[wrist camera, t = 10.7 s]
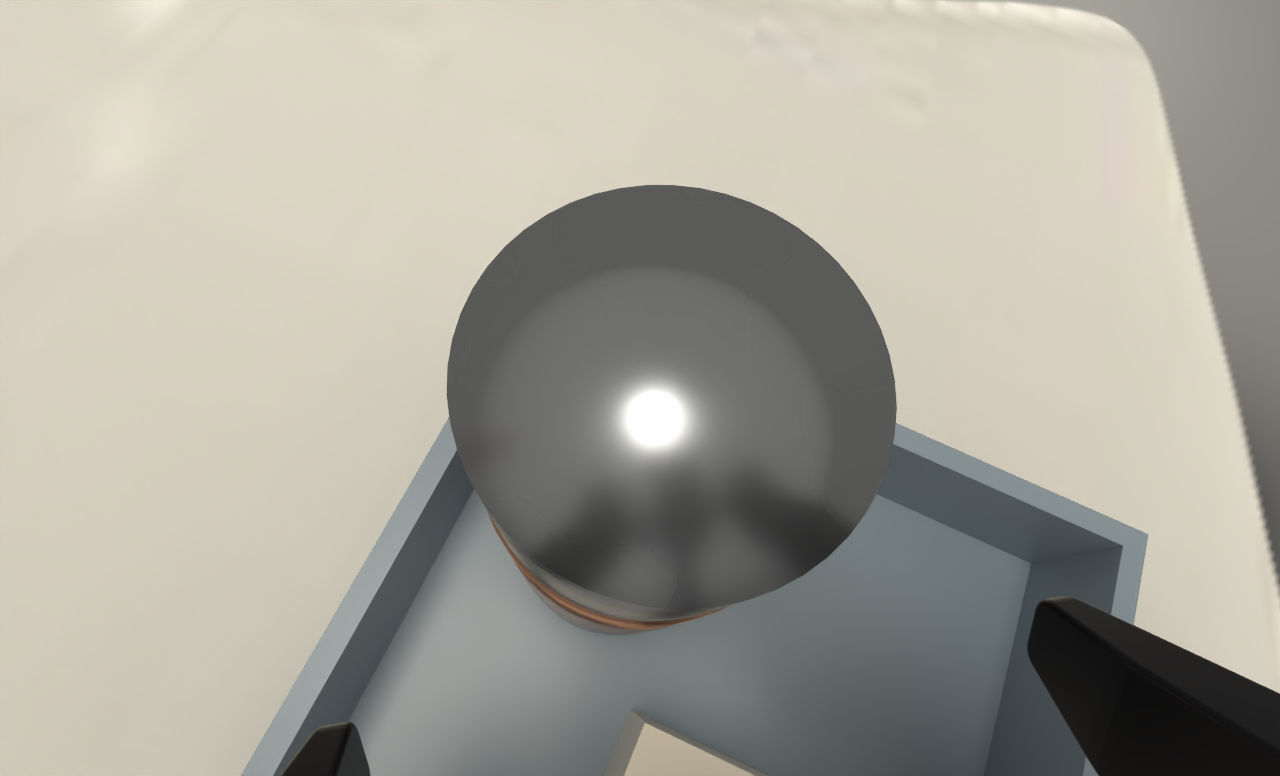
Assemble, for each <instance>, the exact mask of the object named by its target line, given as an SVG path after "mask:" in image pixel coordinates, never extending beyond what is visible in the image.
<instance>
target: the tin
mask: <svg viewBox="0 0 1280 776" xmlns="http://www.w3.org/2000/svg"><path fill="white" fill-rule="evenodd" d="M447 400H448V409H449V418H450V425H451V429H452V432H453V436H454V440H455V444H456V448H457V451H458V454H459V457H460V459H461V461H462V464H463V466H464V468H465V471H466V473H467V476H468V478H469V480H470V482H471V484H472V486H473V487H474V489H475V491H476V492H477V494H478V496H479V497H480V499H481V501H482V503H483V504H484V506H485V508H486V510H487V512H488V515H489V517H490V520H491V522H492V524H493V527H494V529H495V531H496V532H497V534H498V536H499V537H500V539H501V541H502V542H503V544H504V546H505V547H506V549H507V551H508V552H509V554H510V556H511V557H512V559H513V560H514V562H515V564H516V565H517V567H518V568H519V570H520V572H521V573H522V575H523V577H524V578H525V580H526V581H527V583H528V584H529V585H530V587H531V588H532V589H533V590H534V592H535V593H536V594H537V595H538V596H539V598H540V599H541V600H542V601H543V603H544V604H545V605H546V606H548V607H549V608H550V609H551V610H552V611H553V612H554V613H555V614H557V615H558V616H559V617H561V618H562V619H564V620H565V621H567V622H569V623H571V624H573V625H574V626H576V627H579V628H582V629H584V630H587V631H590V632H595V633H600V634H607V635H626V634H633V633H643V632H648V631H653V630H657V629H661V628H665V627H668V626H672V625H676V624H679V623H683V622H687V621H691V620H694V619H698V618H701V617H704V616H706V615H709V614H712V613H715V612H717V611H720V610H722V609H724V608H726V607H728V606H731V605H734V604H737V603H741V602H744V601H747V600H750V599H753V598H755V597H758V596H761V595H764V594H767V593H769V592H772V591H775V590H777V589H779V588H781V587H783V586H785V585H786V584H788V583H790V582H792V581H794V580H796V579H798V578H800V577H801V576H803V575H805V574H806V573H807V572H809V571H810V570H811V569H813V568H814V567H815V566H817V565H818V564H820V563H821V562H822V561H824V560H825V559H826V558H828V557H829V556H830V555H831V554H832V553H833V552H834V551H835V550H836V549H837V548H838V547H839V546H840V545H841V544H842V543H843V542H844V541H845V540H846V539H847V538H848V537H849V535H850V534H851V533H852V531H853V530H854V529H855V527H856V526H857V525H858V523H859V522H860V521H861V519H862V518H863V517H864V515H865V514H866V512H867V511H868V509H869V507H870V505H871V503H872V501H873V499H874V498H875V496H876V494H877V492H878V490H879V488H880V486H881V483H882V480H883V477H884V475H885V472H886V469H887V466H888V464H889V460H890V455H891V451H892V446H893V441H894V436H895V424H896V409H897V406H896V392H895V380H894V375H893V370H892V365H891V360H890V355H889V352H888V349H887V346H886V343H885V340H884V337H883V334H882V331H881V329H880V327H879V324H878V322H877V320H876V318H875V316H874V314H873V312H872V310H871V308H870V306H869V304H868V303H867V301H866V300H865V298H864V296H863V295H862V293H861V292H860V290H859V289H858V287H857V286H856V284H855V283H854V281H853V280H852V279H851V278H850V276H849V275H848V274H847V273H846V272H845V270H844V269H843V268H842V267H841V266H840V264H839V263H838V262H837V261H836V260H835V259H834V258H833V257H832V256H831V255H830V254H829V253H828V252H827V251H826V250H825V249H823V248H822V247H821V246H820V245H819V244H818V243H817V242H816V241H814V240H813V239H812V238H810V237H809V236H808V235H807V234H805V233H804V232H803V231H801V230H800V229H799V228H797V227H796V226H794V225H793V224H791V223H789V222H788V221H786V220H784V219H783V218H781V217H779V216H778V215H776V214H774V213H772V212H770V211H768V210H766V209H764V208H761V207H759V206H757V205H755V204H753V203H751V202H748V201H745V200H742V199H739V198H736V197H733V196H730V195H727V194H724V193H719V192H715V191H710V190H706V189H701V188H694V187H685V186H676V185H644V186H636V187H627V188H619V189H615V190H611V191H606V192H602V193H598V194H594V195H591V196H588V197H586V198H583V199H580V200H577V201H574V202H572V203H569V204H567V205H565V206H563V207H561V208H559V209H557V210H555V211H553V212H551V213H549V214H547V215H546V216H544V217H543V218H541V219H540V220H538V221H537V222H535V223H534V224H532V225H531V226H529V227H528V228H526V229H525V230H524V231H522V232H521V233H520V234H519V235H518V236H517V237H516V238H514V239H513V240H512V241H511V242H510V243H509V244H507V245H506V246H505V247H504V248H503V250H502V251H501V252H500V253H499V254H498V255H497V256H496V257H495V259H494V260H493V261H492V262H491V263H490V264H489V265H488V266H487V268H486V269H485V271H484V272H483V274H482V275H481V277H480V278H479V280H478V281H477V283H476V284H475V286H474V287H473V289H472V291H471V293H470V295H469V297H468V299H467V301H466V303H465V305H464V307H463V310H462V312H461V314H460V317H459V320H458V323H457V326H456V329H455V333H454V336H453V339H452V344H451V350H450V356H449V362H448V373H447Z"/></svg>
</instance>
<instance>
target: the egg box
mask: <svg viewBox="0 0 1280 776" xmlns="http://www.w3.org/2000/svg"><path fill="white" fill-rule="evenodd" d="M604 776H768V775H766V774H764V773H762V772H760V771H758V770H756V769H754V768H752V767H750V766H748V765H746V764H743V763H741V762H739V761H737V760H735V759H733V758H731V757H729V756H727V755H725V754H723V753H721V752H718V751H716V750H714V749H712V748H710V747H708V746H706V745H704V744H702V743H700V742H698V741H696V740H693V739H691V738H689V737H687V736H685V735H683V734H681V733H679V732H677V731H675V730H673V729H671V728H668V727H666V726H664V725H662V724H660V723H658V722H656V721H654V720H652V719H650V718H648V717H646V716H643V715H641V714H639V713H637V712H635V711H633V710H631V711H630V713H629V715H628V718H627V720H626V723H625V725H624V728H623V730H622V733H621V735H620V738H619V740H618V743H617V745H616V748H615V750H614V752H613V755H612V757H611V760H610V762H609V765H608V767H607V770H606V772H605V775H604Z"/></svg>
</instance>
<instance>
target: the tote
mask: <svg viewBox="0 0 1280 776" xmlns="http://www.w3.org/2000/svg"><path fill="white" fill-rule="evenodd" d="M1147 539H1148V534H1146V533H1144V532H1142V531H1139V530H1137V529H1135V528H1133V527H1130V526H1128V525H1126V524H1124V523H1121V522H1119V521H1117V520H1115V519H1112V518H1110V517H1108V516H1105V515H1103V514H1101V513H1099V512H1096V511H1094V510H1092V509H1090V508H1087V507H1085V506H1083V505H1081V504H1078V503H1076V502H1074V501H1071V500H1069V499H1067V498H1065V497H1062V496H1060V495H1058V494H1056V493H1053V492H1051V491H1049V490H1047V489H1044V488H1042V487H1040V486H1037V485H1035V484H1033V483H1031V482H1028V481H1026V480H1024V479H1022V478H1019V477H1017V476H1015V475H1013V474H1010V473H1008V472H1006V471H1003V470H1001V469H999V468H997V467H994V466H992V465H990V464H988V463H985V462H983V461H981V460H979V459H976V458H974V457H972V456H969V455H967V454H965V453H963V452H960V451H958V450H956V449H954V448H951V447H949V446H947V445H945V444H942V443H940V442H938V441H935V440H933V439H931V438H929V437H926V436H924V435H922V434H920V433H917V432H915V431H913V430H911V429H908V428H906V427H904V426H901V425H899V424H897V423H896V424H895V436H894V441H893V446H892V451H891V455H890V460H889V464H888V466H887V469H886V472H885V475H884V477H883V480H882V483H881V486H880V488H879V490H878V492H877V494H876V496H875V498H874V499H873V501H872V503H871V505H870V507H869V509H868V511H867V512H866V514H865V515H864V517H863V518H862V519H861V521H860V522H859V523H858V525H857V526H856V527H855V529H854V530H853V531H852V533H851V534H850V535H849V537H848V538H847V539H846V540H845V541H844V542H843V543H842V544H841V545H840V546H839V547H838V548H837V549H836V550H835V551H834V552H833V553H832V554H831V555H830V556H829V557H828V558H826V559H825V560H824V561H822V562H821V563H820V564H818V565H817V566H815V567H814V568H813V569H811V570H810V571H809V572H807V573H806V574H805V575H803V576H801V577H800V578H798V579H796V580H794V581H792V582H790V583H788V584H786V585H785V586H783V587H781V588H779V589H777V590H775V591H772V592H769V593H767V594H764V595H761V596H758V597H755V598H753V599H750V600H747V601H744V602H741V603H737V604H734V605H731V606H728V607H726V608H724V609H722V610H720V611H717V612H715V613H712V614H709V615H706V616H704V617H701V618H698V619H694V620H691V621H687V622H683V623H679V624H676V625H672V626H668V627H665V628H661V629H657V630H653V631H648V632H643V633H633V634H626V635H607V634H600V633H595V632H590V631H587V630H584V629H582V628H579V627H576V626H574V625H573V624H571V623H569V622H567V621H565V620H564V619H562V618H561V617H559V616H558V615H557V614H555V613H554V612H553V611H552V610H551V609H550V608H549V607H548V606H546V605H545V604H544V603H543V601H542V600H541V599H540V598H539V596H538V595H537V594H536V593H535V592H534V590H533V589H532V588H531V587H530V585H529V584H528V583H527V581H526V580H525V578H524V577H523V575H522V573H521V572H520V570H519V568H518V567H517V565H516V564H515V562H514V560H513V559H512V557H511V556H510V554H509V552H508V551H507V549H506V547H505V546H504V544H503V542H502V541H501V539H500V537H499V536H498V534H497V532H496V531H495V529H494V527H493V524H492V522H491V520H490V517H489V515H488V512H487V510H486V508H485V506H484V504H483V503H482V501H481V499H480V497H479V496H478V494H477V492H476V491H475V489H474V487H473V486H472V484H471V482H470V480H469V478H468V476H467V473H466V471H465V468H464V466H463V464H462V461H461V459H460V457H459V454H458V451H457V448H456V444H455V440H454V436H453V432H452V429H451V425H450V418H448V420H447V422H446V423H445V425H444V427H443V429H442V430H441V432H440V434H439V435H438V437H437V439H436V441H435V442H434V444H433V446H432V447H431V449H430V451H429V453H428V454H427V456H426V458H425V460H424V461H423V463H422V465H421V466H420V468H419V470H418V472H417V473H416V475H415V477H414V479H413V480H412V482H411V484H410V485H409V487H408V489H407V491H406V492H405V494H404V496H403V497H402V499H401V501H400V503H399V504H398V506H397V508H396V510H395V511H394V513H393V515H392V516H391V518H390V520H389V522H388V523H387V525H386V527H385V528H384V530H383V532H382V534H381V535H380V537H379V539H378V541H377V542H376V544H375V546H374V547H373V549H372V551H371V553H370V554H369V556H368V558H367V559H366V561H365V563H364V565H363V566H362V568H361V570H360V572H359V573H358V575H357V577H356V578H355V580H354V582H353V584H352V585H351V587H350V589H349V591H348V592H347V594H346V596H345V597H344V599H343V601H342V603H341V604H340V606H339V608H338V609H337V611H336V613H335V615H334V616H333V618H332V620H331V622H330V623H329V625H328V627H327V628H326V630H325V632H324V634H323V635H322V637H321V639H320V640H319V642H318V644H317V646H316V647H315V649H314V651H313V653H312V654H311V656H310V658H309V659H308V661H307V663H306V665H305V666H304V668H303V670H302V671H301V673H300V675H299V677H298V678H297V680H296V682H295V684H294V685H293V687H292V689H291V690H290V692H289V694H288V696H287V697H286V699H285V701H284V703H283V704H282V706H281V708H280V709H279V711H278V713H277V715H276V716H275V718H274V720H273V721H272V723H271V725H270V727H269V728H268V730H267V732H266V734H265V735H264V737H263V739H262V740H261V742H260V744H259V746H258V747H257V749H256V751H255V752H254V754H253V756H252V758H251V759H250V761H249V763H248V765H247V766H246V768H245V770H244V771H243V773H242V775H241V776H280V775H281V774H282V772H283V771H284V770H285V768H286V767H287V766H288V764H289V763H290V762H291V761H292V759H293V758H294V757H295V755H296V754H297V753H298V751H299V750H300V749H301V748H302V746H303V745H304V744H305V742H306V741H307V740H308V738H309V737H310V736H311V735H312V733H313V732H314V731H315V730H317V729H318V728H319V727H322V726H326V725H331V724H337V723H343V722H353V723H354V724H355V725H356V727H357V729H358V731H359V735H360V738H361V741H362V744H363V748H364V751H365V754H366V758H367V761H368V764H369V768H370V776H604V775H605V772H606V770H607V767H608V765H609V762H610V760H611V757H612V755H613V752H614V750H615V748H616V745H617V743H618V740H619V738H620V735H621V733H622V730H623V728H624V725H625V723H626V720H627V718H628V715H629V713H630V711H631V710H633V711H635V712H637V713H639V714H641V715H643V716H646V717H648V718H650V719H652V720H654V721H656V722H658V723H660V724H662V725H664V726H666V727H668V728H671V729H673V730H675V731H677V732H679V733H681V734H683V735H685V736H687V737H689V738H691V739H693V740H696V741H698V742H700V743H702V744H704V745H706V746H708V747H710V748H712V749H714V750H716V751H718V752H721V753H723V754H725V755H727V756H729V757H731V758H733V759H735V760H737V761H739V762H741V763H743V764H746V765H748V766H750V767H752V768H754V769H756V770H758V771H760V772H762V773H764V774H766V775H768V776H1098V774H1097V773H1096V771H1095V770H1094V768H1093V767H1092V765H1091V763H1090V762H1089V760H1088V759H1087V757H1086V755H1085V754H1084V752H1083V751H1082V749H1081V747H1080V745H1079V744H1078V742H1077V740H1076V739H1075V737H1074V735H1073V734H1072V732H1071V730H1070V728H1069V727H1068V725H1067V723H1066V722H1065V720H1064V718H1063V717H1062V715H1061V713H1060V711H1059V710H1058V708H1057V706H1056V705H1055V703H1054V701H1053V700H1052V698H1051V696H1050V694H1049V693H1048V691H1047V689H1046V688H1045V686H1044V684H1043V683H1042V681H1041V679H1040V677H1039V676H1038V674H1037V672H1036V671H1035V669H1034V667H1033V665H1032V663H1031V661H1030V659H1029V656H1028V652H1027V641H1028V637H1029V633H1030V628H1031V624H1032V620H1033V616H1034V612H1035V608H1036V606H1037V604H1038V603H1039V602H1040V601H1042V600H1044V599H1050V598H1055V597H1061V596H1070V597H1074V598H1076V599H1078V600H1081V601H1083V602H1085V603H1087V604H1089V605H1091V606H1093V607H1096V608H1098V609H1100V610H1102V611H1104V612H1106V613H1108V614H1111V615H1113V616H1115V617H1117V618H1119V619H1121V620H1123V621H1125V622H1128V623H1130V624H1132V625H1134V619H1135V613H1136V606H1137V600H1138V594H1139V588H1140V582H1141V576H1142V570H1143V564H1144V557H1145V551H1146V545H1147Z"/></svg>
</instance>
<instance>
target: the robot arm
mask: <svg viewBox="0 0 1280 776" xmlns="http://www.w3.org/2000/svg"><path fill="white" fill-rule="evenodd" d="M1027 652H1028V656H1029V659H1030V661H1031V663H1032V665H1033V667H1034V669H1035V671H1036V672H1037V674H1038V676H1039V677H1040V679H1041V681H1042V683H1043V684H1044V686H1045V688H1046V689H1047V691H1048V693H1049V694H1050V696H1051V698H1052V700H1053V701H1054V703H1055V705H1056V706H1057V708H1058V710H1059V711H1060V713H1061V715H1062V717H1063V718H1064V720H1065V722H1066V723H1067V725H1068V727H1069V728H1070V730H1071V732H1072V734H1073V735H1074V737H1075V739H1076V740H1077V742H1078V744H1079V745H1080V747H1081V749H1082V751H1083V752H1084V754H1085V755H1086V757H1087V759H1088V760H1089V762H1090V763H1091V765H1092V767H1093V768H1094V770H1095V771H1096V773H1097V774H1098V776H1280V694H1279V693H1277V692H1275V691H1273V690H1271V689H1269V688H1267V687H1264V686H1262V685H1260V684H1258V683H1256V682H1254V681H1252V680H1249V679H1247V678H1245V677H1243V676H1241V675H1239V674H1237V673H1234V672H1232V671H1230V670H1228V669H1226V668H1224V667H1222V666H1220V665H1217V664H1215V663H1213V662H1211V661H1209V660H1207V659H1205V658H1202V657H1200V656H1198V655H1196V654H1194V653H1192V652H1190V651H1187V650H1185V649H1183V648H1181V647H1179V646H1177V645H1175V644H1173V643H1170V642H1168V641H1166V640H1164V639H1162V638H1160V637H1158V636H1155V635H1153V634H1151V633H1149V632H1147V631H1145V630H1143V629H1140V628H1138V627H1136V626H1134V625H1132V624H1130V623H1128V622H1125V621H1123V620H1121V619H1119V618H1117V617H1115V616H1113V615H1111V614H1108V613H1106V612H1104V611H1102V610H1100V609H1098V608H1096V607H1093V606H1091V605H1089V604H1087V603H1085V602H1083V601H1081V600H1078V599H1076V598H1074V597H1070V596H1061V597H1055V598H1050V599H1044V600H1042V601H1040V602H1039V603H1038V604H1037V606H1036V608H1035V612H1034V616H1033V620H1032V624H1031V628H1030V633H1029V637H1028V641H1027ZM280 776H370V768H369V764H368V761H367V758H366V754H365V751H364V748H363V744H362V741H361V738H360V735H359V731H358V729H357V727H356V725H355V724H354V723H353V722H343V723H337V724H331V725H326V726H322V727H319V728H318V729H317V730H315V731H314V732H313V733H312V735H311V736H310V737H309V738H308V740H307V741H306V742H305V744H304V745H303V746H302V748H301V749H300V750H299V751H298V753H297V754H296V755H295V757H294V758H293V759H292V761H291V762H290V763H289V764H288V766H287V767H286V768H285V770H284V771H283V772H282V774H281V775H280Z"/></svg>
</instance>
